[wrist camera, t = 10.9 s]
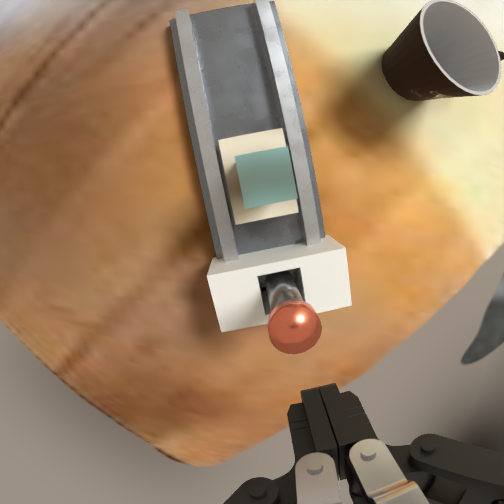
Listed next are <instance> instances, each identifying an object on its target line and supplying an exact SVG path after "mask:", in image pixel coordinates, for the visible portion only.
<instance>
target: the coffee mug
mask: <svg viewBox="0 0 504 504" xmlns="http://www.w3.org/2000/svg"><path fill="white" fill-rule="evenodd" d="M503 59H504V53H503V52H501V51H498V49H497V47H496V44H495V42H494V40H493V38H492V36H491V34H490V33H489V31H488V30H487V28H486V27H485V25H484V24H483V23H482V22H481V21H480V20H479V18H478V17H477V16H476V15H475V14H473V13H472V12H471V11H470V10H469V9H467V8H466V7H464V6H463V5H461V4H459V3H457V2H455V1H452V0H431V1H429V2H428V3H426V4H425V6H424V7H423V8H422V9H421V10H420V11H419V13H418V14H417V15H416V16H415V17H414V19H413V20H412V21H411V22H410V23H409V25H408V26H407V27H406V28H405V29H404V31H403V32H402V33H401V34H400V35H399V37H398V38H397V39H396V40H395V41H394V43H393V44H392V45H391V46H390V47H389V49H388V50H387V51H386V52H385V54H384V56H383V60H382V69H383V73H384V76H385V78H386V80H387V82H388V84H389V85H390V86H391V88H392V89H393V90H394V91H395V92H396V93H397V94H399V95H400V96H402V97H404V98H406V99H409V100H413V101H419V100H429V99H438V98H450V97H463V96H479V95H487V94H489V93H491V92H493V91H494V89H495V88H496V87H497V85H498V83H499V81H500V77H501V60H503Z"/></svg>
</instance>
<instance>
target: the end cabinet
mask: <svg viewBox="0 0 504 504" xmlns="http://www.w3.org/2000/svg"><path fill="white" fill-rule="evenodd" d="M290 269H295V275H296V281H295V282H296V286H297V288H298V290H299V292H300V294H301V296H302V299H303V301H305V302H307V303H308V304H310V305H311V306H312V307H313V308H314V310H315V312H316V313H321V312H325V311H329V310H334V309H338V308H342V307H346V306H350V305H351V294H350V284H349V274H348V265H347V257H346V248H345V247H344V246H342V245H341V244H340V243H338V242H337V241H336V240H334V239H333V238H332V237H330V236H329V235H325V238H321V243H319V244H314V245H309V246H307V244H306V243H305V242H301V243H296V244H291V245H286V246H281V247H276V248H271V249H266V250H261V251H256V252H251V253H246V254H241V255H239V260H235V261H230V262H225V260H224V258H221V259H217V257H213V258H212V261H211V264H210V267H209V271H208V274H207V279H208V283H209V287H210V291H211V295H212V299H213V302H214V306H215V310H216V314H217V318H218V321H219V325H220V329H221V332H226V331H232V330H237V329H243V328H248V327H253V326H259V325H264V324H267V322H268V317H269V315H270V313H271V309H270V305H269V300H268V295H267V290H265V291H261V288H260V283H259V278H258V276H260V275H265V274H270V273H275V272H280V271H285V270H290Z"/></svg>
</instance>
